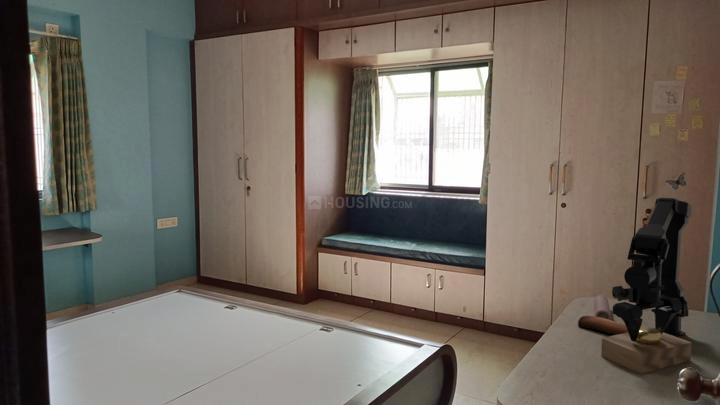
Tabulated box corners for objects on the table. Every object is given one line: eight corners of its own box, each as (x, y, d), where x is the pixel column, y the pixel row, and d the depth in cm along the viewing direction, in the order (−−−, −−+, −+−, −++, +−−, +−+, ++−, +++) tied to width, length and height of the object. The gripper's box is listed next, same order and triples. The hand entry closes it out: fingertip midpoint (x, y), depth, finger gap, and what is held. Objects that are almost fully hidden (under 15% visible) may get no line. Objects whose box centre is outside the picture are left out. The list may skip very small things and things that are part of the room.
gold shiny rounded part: (643, 349, 138) (644, 325, 138) (665, 359, 132) (666, 333, 131) (625, 354, 136) (626, 328, 135) (647, 363, 130) (648, 337, 129)
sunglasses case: (650, 336, 149) (645, 319, 146) (639, 353, 146) (634, 336, 143) (591, 320, 164) (586, 305, 161) (581, 335, 160) (575, 320, 158)
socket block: (649, 344, 143) (649, 327, 142) (690, 360, 132) (691, 342, 131) (601, 355, 136) (601, 338, 136) (640, 373, 125) (641, 354, 125)
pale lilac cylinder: (612, 311, 159) (609, 296, 175) (596, 308, 161) (594, 293, 177) (610, 326, 160) (607, 308, 176) (594, 322, 161) (592, 306, 178)
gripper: (646, 269, 143) (644, 323, 144) (596, 277, 136) (594, 333, 138) (684, 279, 132) (681, 336, 134) (632, 288, 126) (630, 348, 127)
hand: (646, 338), depth 134 cm, fingers open, 9 cm apart
